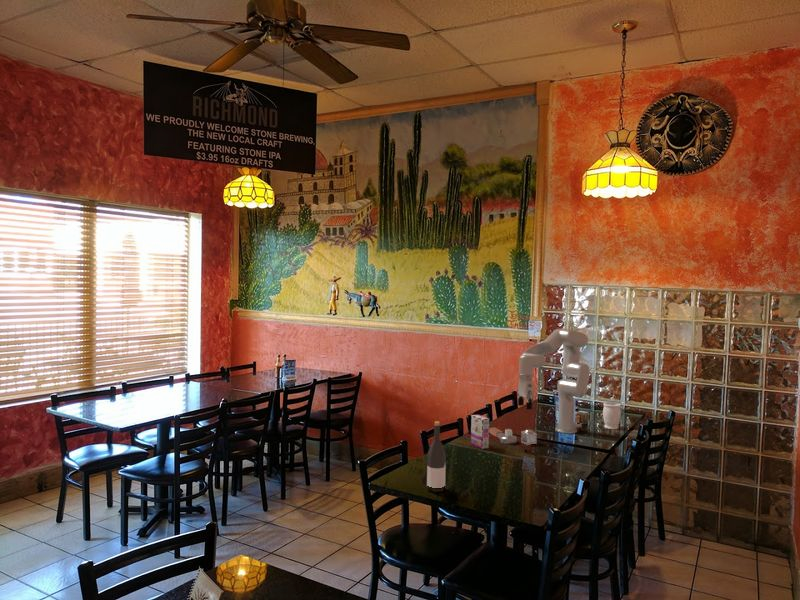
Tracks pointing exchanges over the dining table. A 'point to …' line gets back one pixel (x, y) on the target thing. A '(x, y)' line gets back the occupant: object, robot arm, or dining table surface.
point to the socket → (528, 437)
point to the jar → (611, 415)
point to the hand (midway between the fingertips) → (524, 407)
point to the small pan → (504, 435)
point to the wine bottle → (436, 461)
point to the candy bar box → (480, 431)
